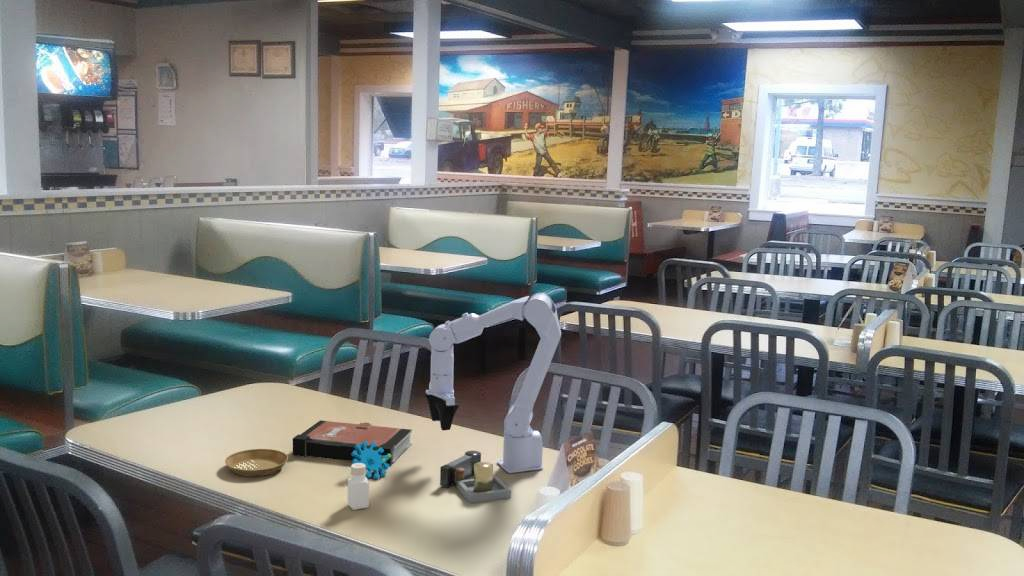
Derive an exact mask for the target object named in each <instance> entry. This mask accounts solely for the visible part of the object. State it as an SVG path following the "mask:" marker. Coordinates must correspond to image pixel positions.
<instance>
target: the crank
mask: <svg viewBox="0 0 1024 576" xmlns="http://www.w3.org/2000/svg"><path fill="white" fill-rule="evenodd" d="M478 462H482V453H481V452H480V451H479V450H478V451H477V450H466V451H465V452H464V455H461V456H460V457H458V458H456V459H454V460H452V461H450V462H448V463H446V464H443V465H441V466H440V471H439V472H440V473H439V475H440V476H439V478H440V479H439V482H440V483H439V486H440V487H443V488H447V489H448V488H449V487H451V486H453V485H455V479H456V471H455V469H456V468H464V469H465V471H464V479H466V478H467V477H469V476H471V475H474V464H475V463H478Z"/></svg>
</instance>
